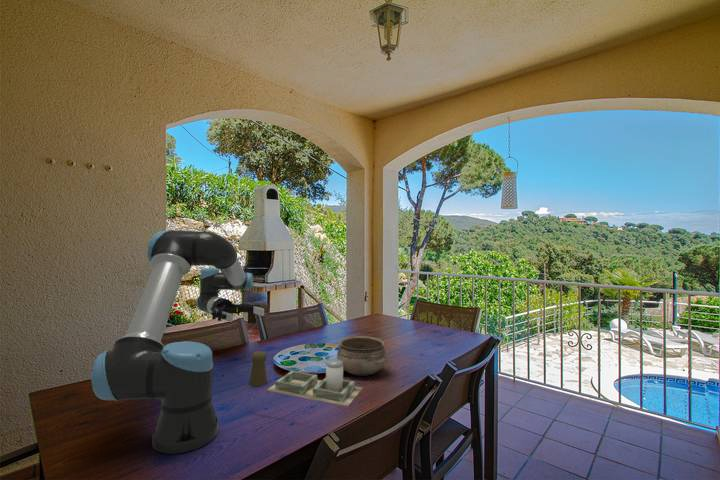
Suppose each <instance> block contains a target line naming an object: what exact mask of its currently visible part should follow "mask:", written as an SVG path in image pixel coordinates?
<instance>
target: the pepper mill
mask: <svg viewBox="0 0 720 480" xmlns="http://www.w3.org/2000/svg"><path fill="white" fill-rule="evenodd" d="M250 358H251V359H250V360H251V362H252V365H251V371H250V378H249V386H250V387H255V388H257V387H258V388H259V387H263V386H266V385H267V384H268V380H267V370H266V362H265V361H266V360H267V353H266V352H265V351H261V350H260V351H259V350H258V351H254V352H253V353H252V354H251V356H250Z"/></svg>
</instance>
